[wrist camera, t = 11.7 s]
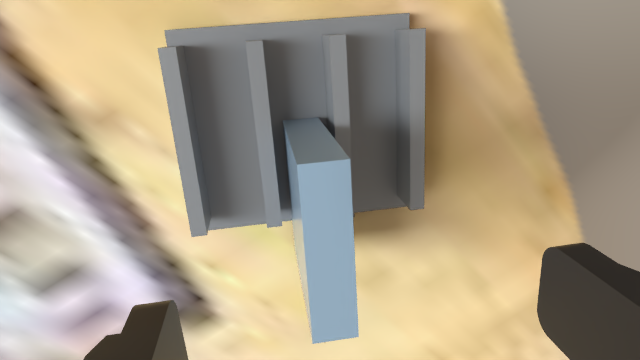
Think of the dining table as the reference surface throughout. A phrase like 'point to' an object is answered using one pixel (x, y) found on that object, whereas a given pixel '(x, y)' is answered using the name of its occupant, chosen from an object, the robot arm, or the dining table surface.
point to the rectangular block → (322, 228)
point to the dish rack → (294, 112)
